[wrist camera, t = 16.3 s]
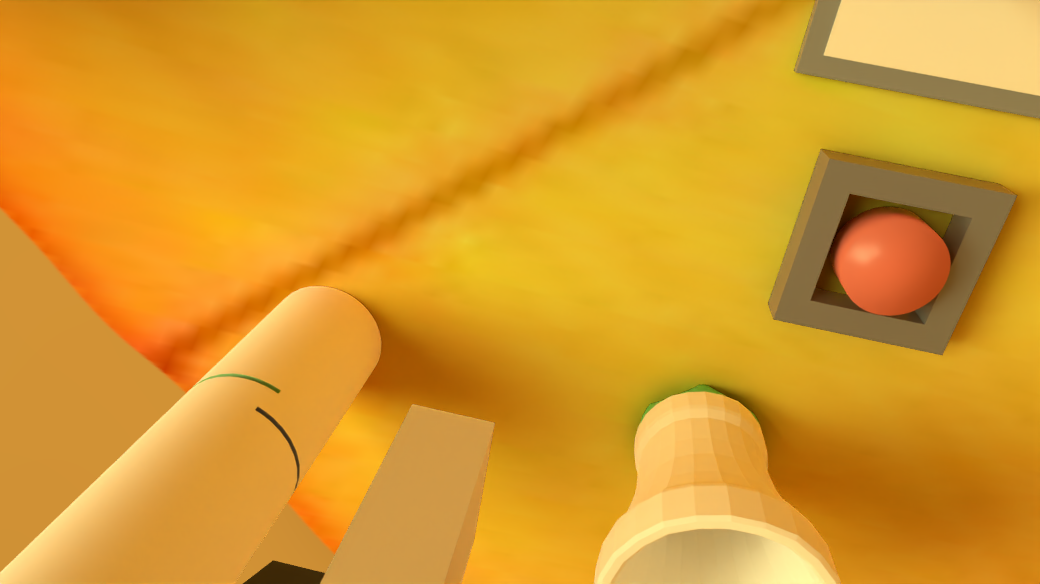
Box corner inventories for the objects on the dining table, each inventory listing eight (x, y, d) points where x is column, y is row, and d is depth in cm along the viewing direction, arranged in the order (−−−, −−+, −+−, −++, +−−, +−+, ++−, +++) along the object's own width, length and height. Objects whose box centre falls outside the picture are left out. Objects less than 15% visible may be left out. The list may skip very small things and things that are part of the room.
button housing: (767, 303, 42) (773, 319, 41) (820, 148, 39) (829, 158, 37) (929, 337, 42) (942, 355, 40) (999, 184, 38) (1017, 195, 36)
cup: (575, 394, 47) (549, 561, 34) (746, 325, 43) (788, 482, 30) (655, 527, 50) (658, 724, 37) (820, 473, 46) (886, 670, 34)
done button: (817, 284, 41) (827, 304, 39) (850, 197, 39) (862, 212, 36) (911, 304, 40) (926, 324, 38) (948, 217, 38) (967, 234, 36)
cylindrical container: (333, 404, 50) (77, 776, 27) (252, 329, 48) (-89, 657, 26) (404, 345, 47) (185, 703, 25) (321, 263, 46) (7, 566, 23)
